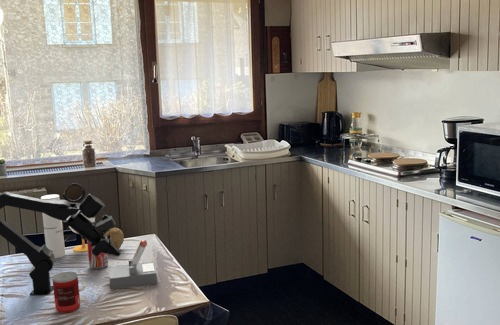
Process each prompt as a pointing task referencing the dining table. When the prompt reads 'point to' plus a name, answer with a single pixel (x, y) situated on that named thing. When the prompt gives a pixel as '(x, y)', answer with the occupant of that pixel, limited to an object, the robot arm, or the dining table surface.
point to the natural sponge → (116, 237)
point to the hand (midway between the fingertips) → (119, 254)
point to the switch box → (132, 275)
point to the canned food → (66, 292)
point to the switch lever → (138, 253)
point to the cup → (82, 247)
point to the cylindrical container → (53, 231)
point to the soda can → (97, 258)
